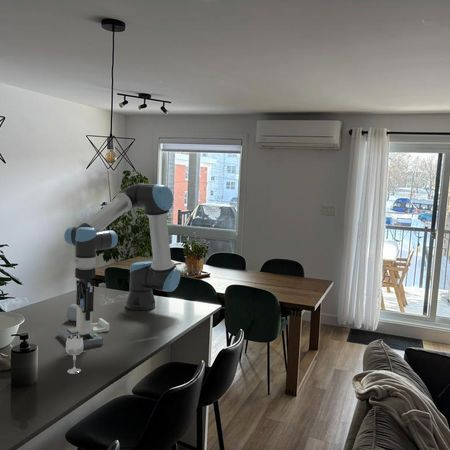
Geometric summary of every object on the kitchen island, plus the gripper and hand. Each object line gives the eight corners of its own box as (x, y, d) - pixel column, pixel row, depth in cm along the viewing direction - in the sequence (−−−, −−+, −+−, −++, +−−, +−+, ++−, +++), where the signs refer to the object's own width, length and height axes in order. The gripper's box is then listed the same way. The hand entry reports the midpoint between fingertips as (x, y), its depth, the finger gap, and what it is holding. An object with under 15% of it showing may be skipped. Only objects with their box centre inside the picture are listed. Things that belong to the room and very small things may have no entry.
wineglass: (67, 367, 156) (68, 333, 155) (84, 367, 157) (85, 334, 156) (63, 374, 151) (63, 339, 149) (80, 374, 151) (81, 340, 150)
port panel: (86, 332, 192) (86, 324, 191) (102, 345, 177) (103, 337, 177) (57, 336, 185) (57, 328, 184) (72, 351, 170) (72, 342, 170)
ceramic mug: (81, 325, 200) (81, 308, 199) (65, 322, 203) (66, 305, 202) (95, 318, 210) (95, 302, 209) (80, 316, 213) (80, 300, 212)
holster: (101, 325, 200) (101, 318, 200) (109, 332, 193) (109, 323, 193) (82, 328, 195) (82, 320, 195) (90, 335, 188) (90, 326, 188)
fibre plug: (87, 328, 180) (88, 296, 179) (91, 332, 176) (92, 299, 175) (76, 330, 177) (76, 298, 176) (80, 334, 174) (80, 301, 172)
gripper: (68, 264, 179) (67, 321, 181) (83, 272, 165) (82, 334, 167) (86, 262, 184) (85, 318, 186) (103, 271, 170) (102, 331, 172)
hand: (84, 326), depth 177 cm, fingers closed on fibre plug, 4 cm apart
